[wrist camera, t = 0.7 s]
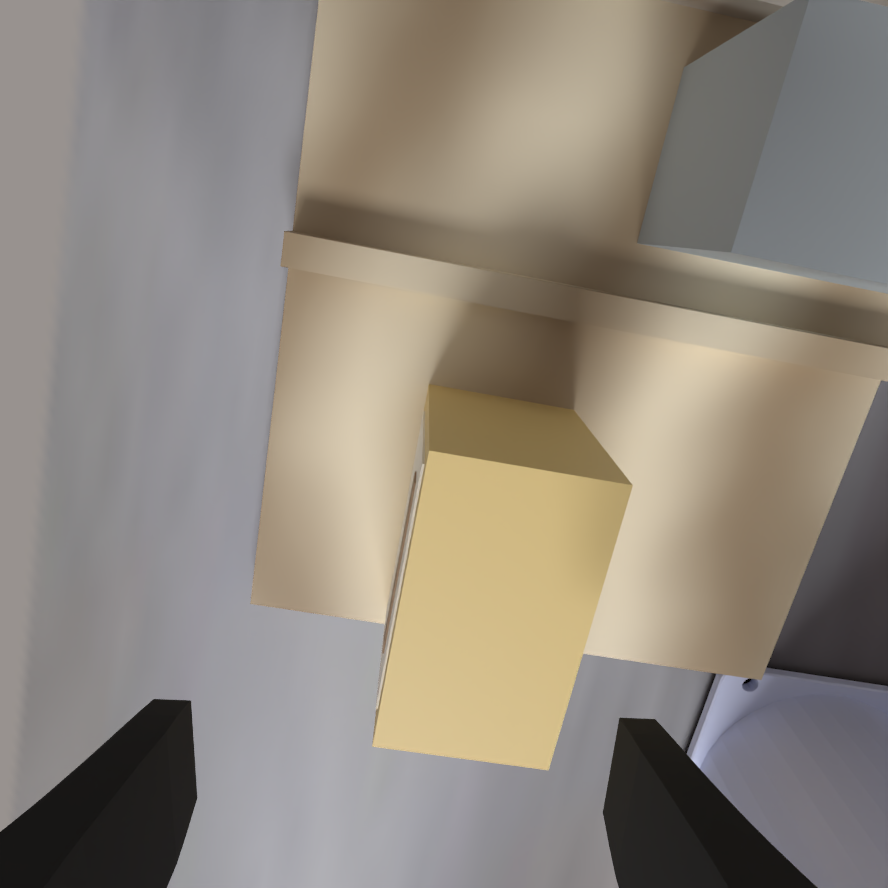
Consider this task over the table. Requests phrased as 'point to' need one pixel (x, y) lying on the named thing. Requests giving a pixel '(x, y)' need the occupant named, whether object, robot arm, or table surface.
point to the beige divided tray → (548, 317)
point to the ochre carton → (495, 578)
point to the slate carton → (783, 148)
